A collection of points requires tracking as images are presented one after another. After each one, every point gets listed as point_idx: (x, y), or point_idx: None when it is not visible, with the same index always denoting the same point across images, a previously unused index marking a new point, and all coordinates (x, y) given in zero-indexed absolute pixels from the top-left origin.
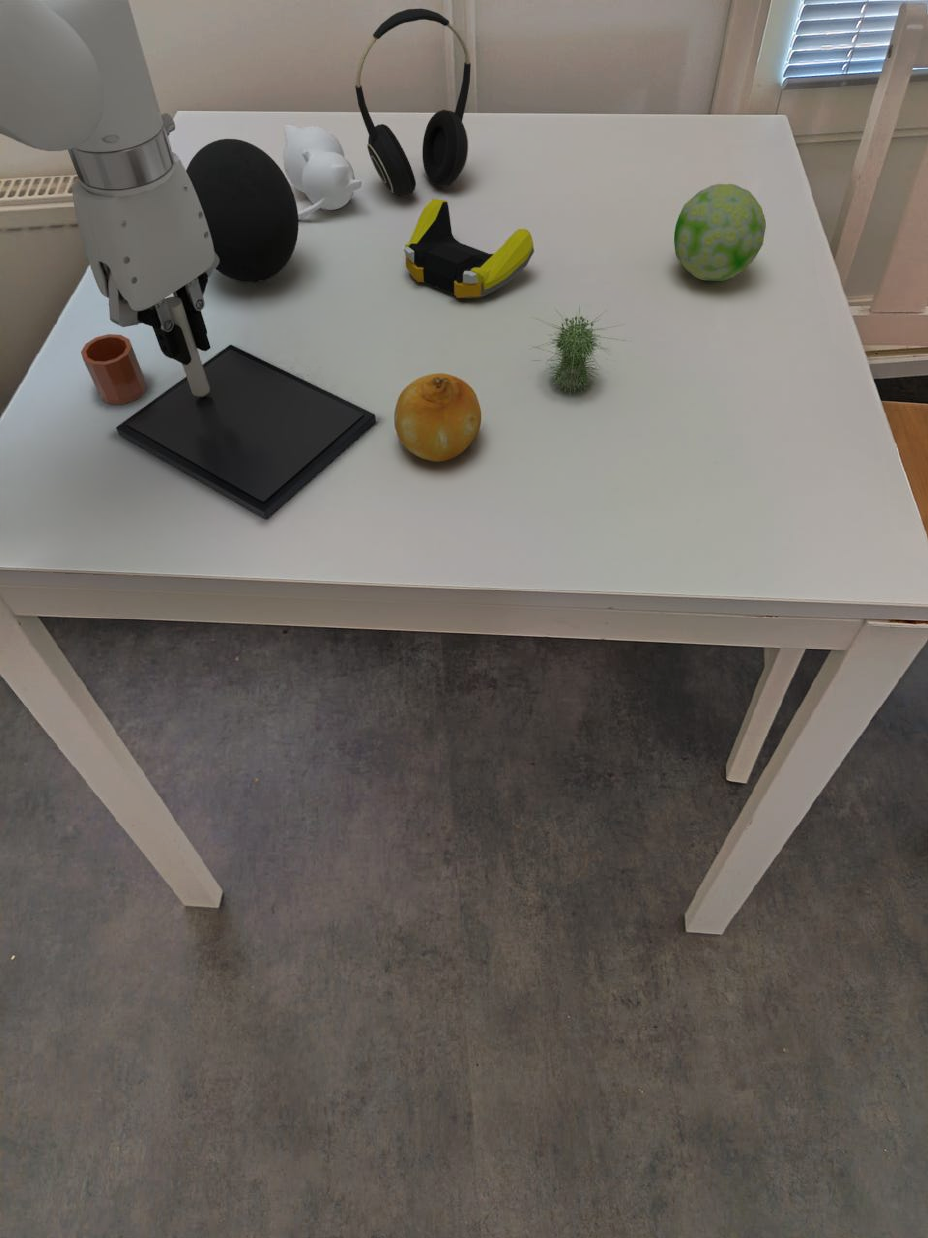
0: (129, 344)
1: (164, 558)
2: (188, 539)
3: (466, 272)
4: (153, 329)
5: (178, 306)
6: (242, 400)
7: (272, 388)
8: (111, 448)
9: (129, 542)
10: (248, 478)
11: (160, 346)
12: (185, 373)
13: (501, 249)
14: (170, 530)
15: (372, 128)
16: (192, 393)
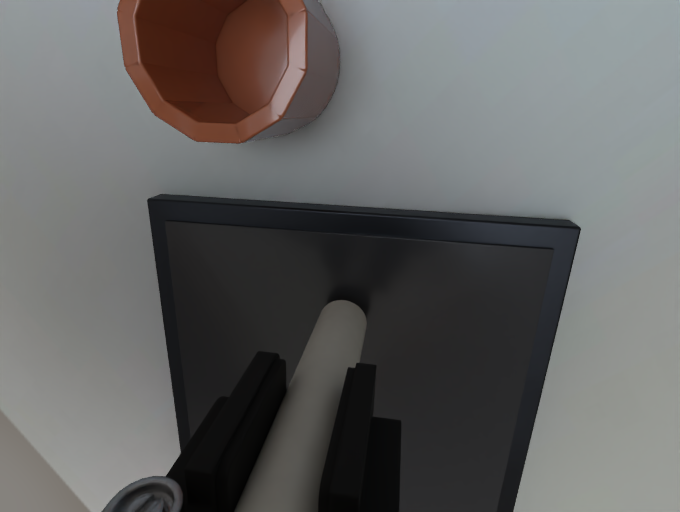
0: (284, 101)
1: (56, 455)
2: (101, 464)
3: None
4: (168, 472)
5: None
6: (384, 397)
7: (456, 431)
8: (126, 210)
9: (33, 397)
10: None
11: (210, 413)
12: (307, 343)
13: None
14: (91, 433)
15: None
16: (321, 311)
